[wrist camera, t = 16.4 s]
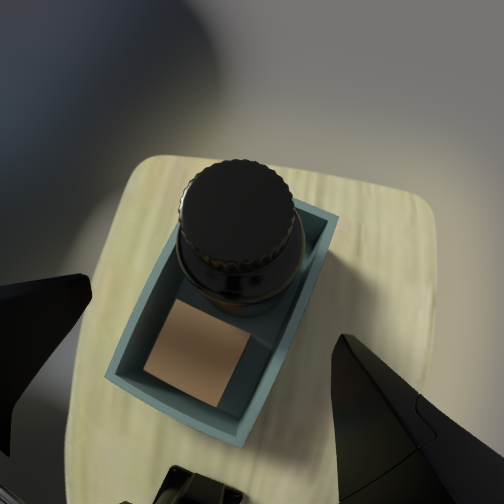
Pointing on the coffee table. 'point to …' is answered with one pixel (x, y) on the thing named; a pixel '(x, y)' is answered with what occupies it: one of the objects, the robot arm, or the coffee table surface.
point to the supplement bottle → (240, 237)
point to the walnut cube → (197, 353)
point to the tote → (261, 328)
